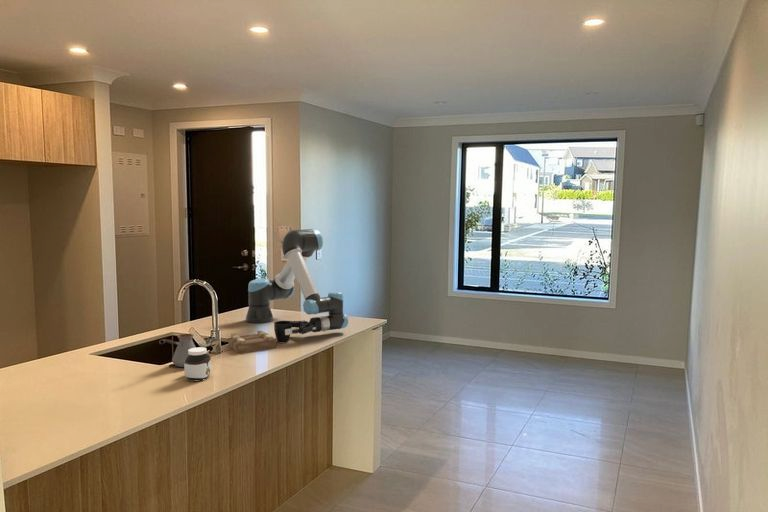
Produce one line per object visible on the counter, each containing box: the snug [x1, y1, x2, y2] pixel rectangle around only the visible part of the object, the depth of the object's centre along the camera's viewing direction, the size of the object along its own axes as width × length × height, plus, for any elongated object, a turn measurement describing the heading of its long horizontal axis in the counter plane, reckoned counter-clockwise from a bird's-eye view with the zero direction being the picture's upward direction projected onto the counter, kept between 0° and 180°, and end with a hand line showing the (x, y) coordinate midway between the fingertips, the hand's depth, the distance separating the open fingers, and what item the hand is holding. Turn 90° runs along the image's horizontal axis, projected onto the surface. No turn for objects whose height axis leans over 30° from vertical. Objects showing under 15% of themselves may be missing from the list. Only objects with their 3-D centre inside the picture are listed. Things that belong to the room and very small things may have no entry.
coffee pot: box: [159, 333, 197, 368], centre depth 239 cm, size 21×12×15 cm, turn 163°
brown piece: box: [227, 330, 277, 354], centre depth 273 cm, size 15×18×6 cm
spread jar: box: [183, 346, 212, 381], centre depth 228 cm, size 12×11×12 cm
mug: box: [273, 320, 293, 343], centre depth 285 cm, size 8×12×10 cm
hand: (279, 329), depth 283 cm, fingers open, 13 cm apart
